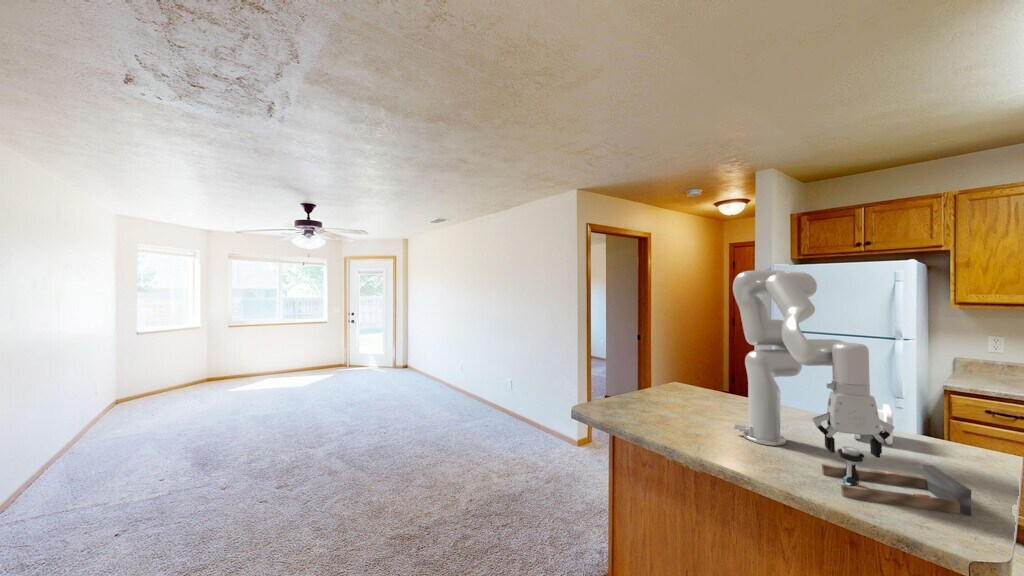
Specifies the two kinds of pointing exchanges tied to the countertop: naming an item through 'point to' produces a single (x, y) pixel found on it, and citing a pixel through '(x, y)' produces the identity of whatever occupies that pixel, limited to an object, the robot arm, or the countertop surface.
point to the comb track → (934, 480)
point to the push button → (850, 465)
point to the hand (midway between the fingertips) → (852, 453)
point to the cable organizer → (884, 416)
